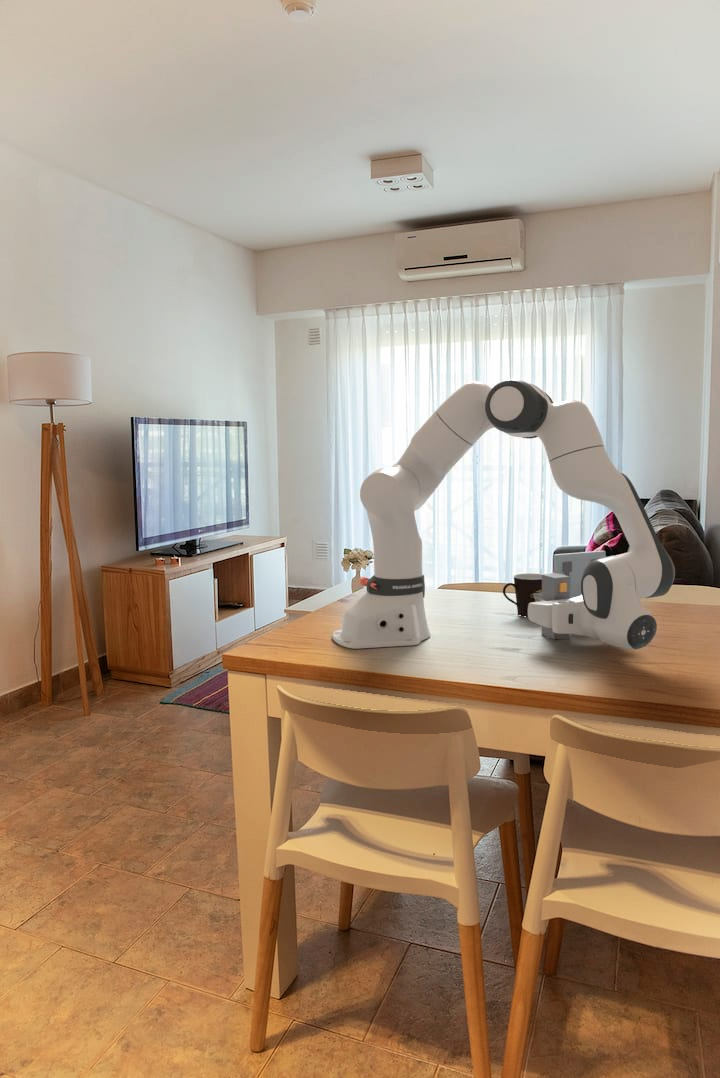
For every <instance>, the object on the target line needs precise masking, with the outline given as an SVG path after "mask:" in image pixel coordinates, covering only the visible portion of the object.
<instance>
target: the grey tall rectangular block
mask: <svg viewBox="0 0 720 1078" xmlns="http://www.w3.org/2000/svg"><path fill="white" fill-rule="evenodd" d="M541 574H542V600H560V599H570V576H566V575H562V574H559V573H553V572H552V573H541ZM541 634H542V635H541V636H543V635H544V636H543V637H546V638H548V637H549V639H550V638H551V639H550V640H553V639H554V640H553V641H556V640H555V639H558V640H564V638H566V639H570V634H557V633H554V632H553V630H552V628H547V627H544V626H541Z"/></svg>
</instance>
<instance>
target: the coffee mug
mask: <svg viewBox="0 0 720 1078" xmlns="http://www.w3.org/2000/svg"><path fill="white" fill-rule="evenodd" d="M542 574H543V573H517V574H514V575H513V582H514V583H512V582H508V583H507V584H505V585H504V586H503V587H502V595H503V596H504V597H505V598H506V599H507V601H509V602H511V603H512V604H514V605H515V606H516V608H517V616H518V615H521V616H526V617H528V605H529V603H531V602H540V601H541V600H542ZM509 586H512V587H513V588H514V590H515V591H514V592H515V600H516V601H515V600H513V599H511V598H509V596H508V595H507V593H506V589H507V588H508V587H509Z"/></svg>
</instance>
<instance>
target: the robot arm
mask: <svg viewBox="0 0 720 1078" xmlns="http://www.w3.org/2000/svg"><path fill="white" fill-rule="evenodd" d="M493 428H495V429H497V430H498V431H500V432H502V433H505V434H506V435H508V436H512V437H515V438H522V439H529V440H530V439H535V438H538V439H540V441H541V442H542V444H543V447H544V450H545V453H546V456H547V460H548V463H549V467H550V471H551V475H552V477H553V479H554V482H555V484H556V485H557V488H558V489H559V490H561V491H562V492H563V493H565V495H567V496H570V497H571V498H574V499H577V500H581V501H585V502H592V503H596V504H598V505H599V504H600V505H602V506H604V507H606V508H607V509H609V510H610V511H611V512H612V513H613V514H614V515H615V517H616V519H617V521H618V524H619V525H620V526H619V527H621V530H622V532H623V535H624V537H625V538H626V541H627V544H628V545H629V547H630V550H629V551H628V552H624V553H620V554H616V555H610V556H606V557H605V558H602V559H598V560H594V561H591V562H590V563H589V564H588V565H587V567H586V568H585V570H584V573H583V576H582V580H581V593H582V595H580V596H578V597H575V598H570V599H560V600H541V601H540V602H531V603H529V605H528V618H527V619H529V620H530V621H531V622H533V623H535V624H537V625H539V626H541V627H542V626H544V627H547V628H552V630H553V632H554V633H557V634H569V635H578V636H582V637H588V638H592V639H594V640H600V641H602V642H603V643H604V644H607V645H610V646H612V647H616V648H620V649H623V650H630V651H631V650H632V651H633V650H635V651H636V650H641V649H642V648H645V647H646V646H648V645H649V644H650V643H651V642H652V640H653V639H654V637H656V633H657V629H658V624H657V620H656V618H655V617H654V616H653V615H652V614H651V613H650V612H649V611H647V610H646V608H645V607H644V606H643V604H642V603H641V601H640V600H644V599H652V598H656V597H662V596H665V595H666V594H668V592H669V591H670V589H671V588H672V586H673V584H674V581H675V577H676V567H675V565H674V562H673V560H672V558H671V557H670V555H669V554H668V552H667V551H666V549H665V547H664V546H663V545H662V543H661V541H660V539H659V537H658V535H657V533H656V531H655V528H654V526H653V524H652V522H651V520H650V518H649V515H648V513H647V511H646V509H645V507H644V504H643V502H642V501H641V498H640V496H639V494H638V492H637V490H636V488H635V486H634V484H633V483H632V481H631V480H630V479H629V477H628V476H627V475H626V474H625V473H624V472H621V471H620V470H619V469H617V467H616V466H615V465H614V464H613V462H612V461H611V459H610V458H609V455H608V453H607V450H606V448H605V447H606V446H605V444H604V441H603V438H602V435H601V432H600V429H599V427H598V425H597V422H596V421H595V419H594V417H593V414H592V412H591V411H590V409H589V408H588V406H587V405H586V404H585V403H583V402H582V401H578V400H570V399H569V400H563V401H560V402H556V403H554V401H553V399H552V398H551V397H550V395H549V394H547V393H546V392H545V391H543V390H542V389H541V388H540V387H538V386H537V385H535V384H532V383H528V382H526V381H524V380H521V379H517V378H516V379H514V378H513V379H506V380H502V381H501V382H498V383H497V384H496V385H494V386H493V387H491V386H489V385H487V384H486V383H484V382H481V381H477V380H471V381H467V382H466V383H465V384H463V385H462V386H460V387H459V388H458V389H457V390H456V391H454V392H453V393H452V394H451V395H450V396H449V397H448V398H447V399H445V400H444V401H443V402H442V403H441V405H439V406H438V408H436V410H435V411H434V412H433V414H432V415H431V416H429V418H428V419H427V420H426V421H425V422H424V424H423V425H422V426H421V427H420V428H419V429H418V431H416V433H415V434H413V436H412V438H411V440H410V443H409V444H408V445H407V448H406V449H405V450H404V453H403V454H402V456H400V458H399V459H398V461H397V462H396V463H395V464H393V465H392V466H387V467H382V468H378V469H376V470H374V471H373V472H371V473H370V474H369V475H368V476H367V477H366V478H365V479H364V481H362V484H361V487H360V488H359V489H360V490H359V496H360V502H361V504H362V506H363V509H365V510H366V514H367V518H368V522H369V526H370V527H369V528H370V531H371V532H370V533H371V537H372V544H373V545H372V546H373V570H374V571H373V572H374V573H373V575H372V576H371V577H370V578H367V577H366V576H361V577H360V579H359V584H360V585H361V586H363V587H366V593H364V594H363V595H362V596H361V597H360V598H358V600H356V601H355V602H353V604H351V605H350V606H349V607H348V608H346V610H344V612H343V613H344V614H343V616H342V623H341V624H342V625H341V629H337V630H334V631H333V632H332V640H333V641H334V642H335V643H337V644H338V645H339V646H341V647H344V648H348V649H371V648H373V649H375V648H388V647H404V646H405V647H406V646H418V645H419V644H421V642H422V641H424V640H426V639H427V640H428V638H430V637H431V632H430V628H429V626H428V622H427V621H428V620H427V616H426V609H425V602H424V601H425V600H424V599H425V595H426V594H425V592H426V585H425V584H426V583H425V575H424V573H423V541H422V540H423V539H422V538H421V536H420V534H419V530H418V526H417V520H416V513H415V511H417V510H419V509H421V508H422V507H423V505H425V504H426V502H427V500H428V499H430V497H431V496H432V494H434V492H435V491H436V489H437V488H438V487H439V486H440V484H441V483H442V482H443V480H444V478H445V477H446V476H447V475H448V473H449V472H450V471H451V469H453V468H454V467H455V465H456V464H457V463H458V462H460V460H461V459H462V458H463V457H464V455H466V454H467V452H468V451H469V450H471V448H472V447H473V446H474V445H475V444H476V443H477V442H478V440H479V439H480V438H481V437H482V436H483V435H485V433H487V432H488V431H489V430H491V429H493Z"/></svg>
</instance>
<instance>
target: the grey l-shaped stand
mask: <svg viewBox="0 0 720 1078" xmlns="http://www.w3.org/2000/svg"><path fill="white" fill-rule="evenodd" d="M606 553H607V552H606V551H605V550H593V551H579V552H568V553H555V554H553V558H552V559H553V566H552V567H553V570H552V571H553V572H552V574H553V573H559V574H562V575H566V576H570V598H575V597H578V596H580V595H582V593H581V580H582V576H583V573H584V570H585V568H586V567H587V565H588V564H589V563H590V562H591V561H594V560H598V559H602V558H605V557H607V555H606Z"/></svg>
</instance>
